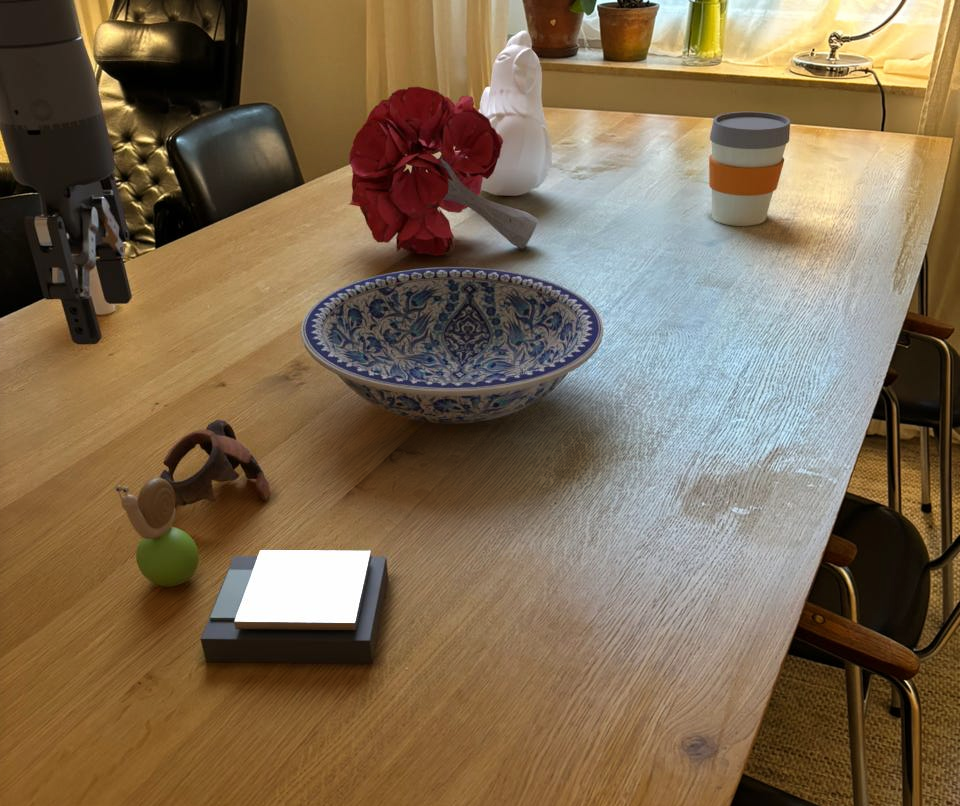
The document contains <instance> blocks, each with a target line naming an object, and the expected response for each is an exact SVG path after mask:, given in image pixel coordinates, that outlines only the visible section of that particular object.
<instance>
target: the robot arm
mask: <svg viewBox="0 0 960 806" xmlns="http://www.w3.org/2000/svg"><path fill="white" fill-rule="evenodd" d="M99 91H100V90H99V87H98V82H97V78H96V74H95V71H94V67H93V65H92V61H91V59H90V55H89V53H88V51H87V47H86V44H85V41H84V37H83V35H82V29H81V24H80V20H79V15H78V11H77V6H76V2H75V0H0V135H1V138H2V142H3V146H4V149H5V152H6V156H7V159H8V162H9V166H10V169H11V173H12V176H13V178H14V179H15V181H16V182H17V183H19V184H21V185H23V186H25V187H30V188H32V189H34V190H35V191H36V192H37V193H38V194H39V202H40V209H41V210H40V211H41V215H36V216H25V217H24V228H25V232H26V237H27V240H28V244H29V247H30V252H31V255H32V258H33V262H34V267H35V271H36V273H37V278H38V281H39V285H40V289H41V293H42V296H43V298H44V300H52V301H53V300H59V301H60V302H61V307H62V310H63V312H64V316H65V320H66V323H67V328H68V330H69V334H70V338H71V341H72V343H74V344H76V345H98V344H99V342H100V341H101V340H102V338H103V337H102V331H101V328H100V324H99V320H98V317H97V314H96V312H95V308H94V305H93V301H92V297H91V296H90V275H89V273H90V271H91V270H92V269H94V267H95V265H96V268H97V272H98V276H99V280H100V283H101V287H102V291H103V295H104V299H105V301H106V302H107V303H109V304H114V305H126V304H128V303H130V301H131V300H132V297H133V295H132V291H131V287H130V282H129V278H128V274H127V269H126V265H125V261H124V257H125V255H126V246H125V244H124V243H128V242H129V241H130V232H129V227H128V224H127V220H126V216H125V212H124V207H123V204H122V200H121V196H120V193H119V189H118V185H117V181H116V176H115V173H114V172H115V170H116V161H115V156H114V152H113V147H112V143H111V139H110V135H109V130H108V125H107V122H106V116H105V113H104V109H103V108H104V107H103V104H102V99H101V97H100V96H101V95H100V92H99ZM71 254H78V255H71ZM96 257H99V258H97V259H96ZM50 269H51V271H50ZM75 269H77V276H76V272H75ZM51 274H52V275H51Z"/></svg>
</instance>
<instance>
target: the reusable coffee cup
mask: <svg viewBox="0 0 960 806" xmlns="http://www.w3.org/2000/svg"><path fill="white" fill-rule="evenodd" d="M790 131H791V120H790V119H789V118H788V117H786V116H784V115H781V114H775V113H771V112H765V111H764V112H763V111H733V112H726V113H722V114H718V115H715V116H714V118H713V120H712V125H711V129H710V134H709V140H710V141H711V153H710V155H709V157H708V185H709V188H710V189H711V219H712V220H713V221H715V222H717V223H719V224H723V225H726V226H736V227H748V226H756V225H759V224H762V223H764V222H765V221H766V219H767V215H768V212H769V209H770V205H771V201H772V197H773V193H774V192H775V191H776V190H777V188H778V185H779V181H780V178H781V174H782V172H783V171H782V170H783V167H784V163H785V158H784V153H785V149H786V147H787V144H788V143H789V142H790V134H791V132H790Z"/></svg>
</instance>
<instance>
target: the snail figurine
mask: <svg viewBox="0 0 960 806" xmlns="http://www.w3.org/2000/svg"><path fill="white" fill-rule="evenodd" d="M114 490H115V491H116V492H117V493H118V494H119V497H120V499H121V503H120V504H121V507H122V508H123V510H124V511H125V512H126V516H127V518H128V520H129V522H130V524H131V526H132V528H133V529H134V530H135V532H136V533H137V534H138V535H139V536H140V537H141V540H140V541H139V542H138V545H137V547H136V553H135V555H136V556H135V558H136V564H137V567H138V569H139V571H140V573H141V574H142V575H143V576H144V578H145V579H147V580H148V581H149V582H151V583H153V584H154V585H157V586H160V587H176V586H179V585H182V584H185V583H186V582H187V581H188V580H190V579H191V578H192V577H193V575H195V573H196V571H197V569H198V565H199V560H200V554H199V549H198V546H197V544H196V542H195V540H194V539H193V538H192V536H190V535H189V534H188V533H187V532H186V531H184V530H182V529H180V528H178V527H174V526H173V525H174V522H175V519H176V513H177V512H176V508H175V507H176V504H175V493H174V490H173V488H172V486H171V485H170V483H169V482H168V481H166V480H165V479H162V478H160V477H154V478H151V479H149V480H148V481H147V482H145V484H143V486H142V487H141V489H140V491H139V493H138V496H137V497H136V496H135V495H133V494H128V493H129V492H130V488H129V487H128V486H123V487H122V485H116V486H115V489H114ZM121 492H122V493H124V494H125V495H124V496H123V497H122V494H121Z"/></svg>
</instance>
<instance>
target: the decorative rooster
mask: <svg viewBox="0 0 960 806" xmlns="http://www.w3.org/2000/svg"><path fill="white" fill-rule="evenodd" d="M532 47H533V41H532V38H531V36H530V34H529V32H528V31H527V30H521V31H519V32H518V33H516V34H515V35H513V36H511V37H510V38H509V40H508V41H507V42H506V44H505V47H504V49H503V50H502V51H501V52H499V54H498V55H497V57H496V58H495V60H494V62H493V65H492V69H491V77H490V86H486V87H485V88H484V90H483V92H482V95H481V98H480V101H479V110H478V112H479V113H481V114H483V115H484V116H485V117H487V118H488V119H489V120H490V124H491V127H492V128H494V129H495V130H496V133H497V134H499V135H500V136H501V137H502V140H503V144H502V148H501V151H500V157H499V158H498V160H497V164H496V167H495V169H494V172H493V174H492V175H491V176H490V177H489V178H488V179H486V178H484V177H483V181H482V185H481V189H480V190H481V191H483V192H486V193H487V194H491V195H493V196H509V197H519V196H521V195H522V196H523V195H524V194H527V193H528V192H530V191H532V190H536V189H538V188H539V187H540V186H542V185H543V183H544V182H545V181H546V179H547V177H548V175H549V173H550V171H551V168H552V164H553V163H552V162H553V149H552V143H551V140H550V136H549V132H548V131H547V128H548V124H547V122H546V117H545V113H544V108H543V101H542V100H543V99H542V87H543V71H542V70H543V69H542V65H541V62H540V57H538V55H537V54H536V52H535V51H534V50H533V48H532ZM466 158H467V157H466Z"/></svg>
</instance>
